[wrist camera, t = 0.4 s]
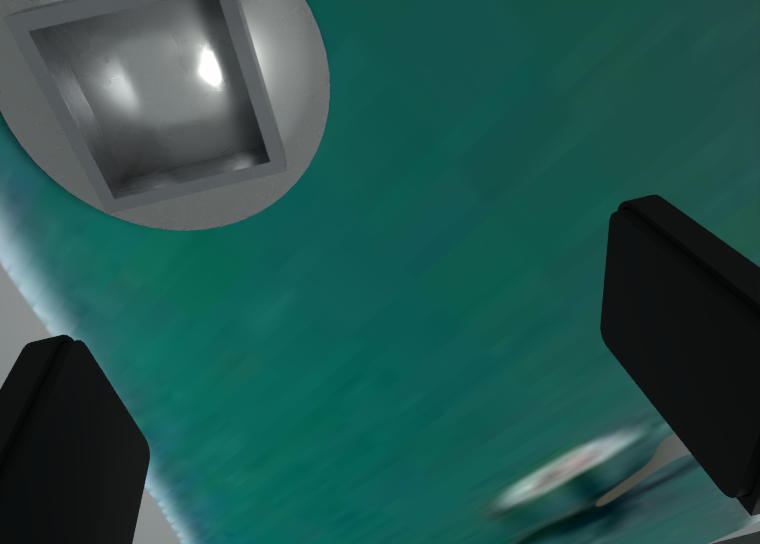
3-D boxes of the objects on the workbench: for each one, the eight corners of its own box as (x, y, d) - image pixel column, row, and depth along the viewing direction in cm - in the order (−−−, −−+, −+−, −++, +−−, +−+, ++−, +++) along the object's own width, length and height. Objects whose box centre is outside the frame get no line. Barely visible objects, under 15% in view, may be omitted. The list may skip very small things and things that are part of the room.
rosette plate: (-89, -64, 27) (-140, -60, 24) (281, -143, 28) (283, -151, 25) (90, 250, 38) (73, 283, 35) (355, 186, 39) (364, 212, 36)
